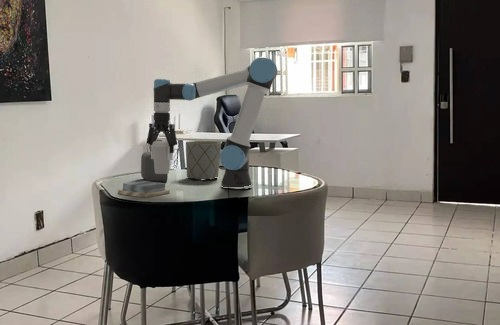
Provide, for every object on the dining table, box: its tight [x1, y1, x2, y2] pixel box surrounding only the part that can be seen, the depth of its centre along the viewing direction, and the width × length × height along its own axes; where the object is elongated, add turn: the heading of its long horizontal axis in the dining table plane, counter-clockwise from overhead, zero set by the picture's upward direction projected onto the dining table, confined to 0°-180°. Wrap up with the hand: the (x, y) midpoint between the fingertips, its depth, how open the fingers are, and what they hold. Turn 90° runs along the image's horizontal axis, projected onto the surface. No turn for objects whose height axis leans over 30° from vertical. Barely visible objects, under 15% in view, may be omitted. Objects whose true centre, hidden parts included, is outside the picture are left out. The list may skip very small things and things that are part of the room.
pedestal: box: [117, 180, 170, 199], centre depth 253 cm, size 16×16×4 cm
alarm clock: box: [140, 151, 169, 183], centre depth 295 cm, size 16×11×16 cm
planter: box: [185, 140, 222, 180], centre depth 308 cm, size 19×19×20 cm
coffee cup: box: [152, 140, 171, 174], centre depth 270 cm, size 10×10×15 cm
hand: (161, 159), depth 270 cm, fingers closed on coffee cup, 9 cm apart
